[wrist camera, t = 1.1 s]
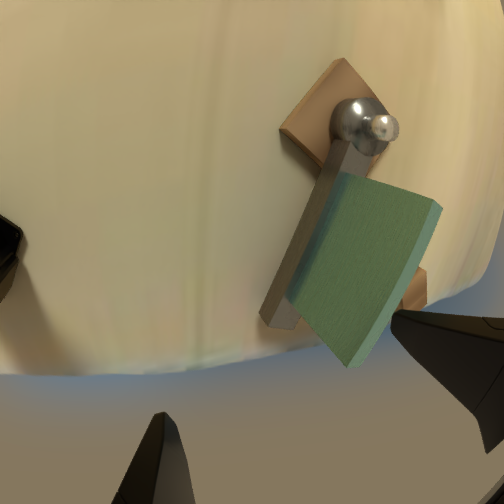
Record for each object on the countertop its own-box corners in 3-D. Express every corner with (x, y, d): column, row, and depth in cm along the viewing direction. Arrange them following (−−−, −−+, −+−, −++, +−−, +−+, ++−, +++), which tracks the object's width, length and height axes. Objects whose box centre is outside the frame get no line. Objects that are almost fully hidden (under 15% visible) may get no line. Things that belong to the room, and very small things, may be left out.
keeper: (367, 269, 28) (402, 293, 23) (391, 250, 28) (426, 271, 23) (374, 300, 30) (404, 324, 25) (396, 282, 30) (426, 303, 26)
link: (341, 87, 18) (449, 81, 9) (379, 116, 20) (480, 127, 11) (247, 310, 22) (303, 400, 14) (291, 317, 24) (354, 394, 16)
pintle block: (278, 128, 19) (286, 128, 18) (334, 60, 18) (344, 57, 17) (344, 191, 23) (353, 194, 22) (388, 125, 22) (397, 126, 21)
